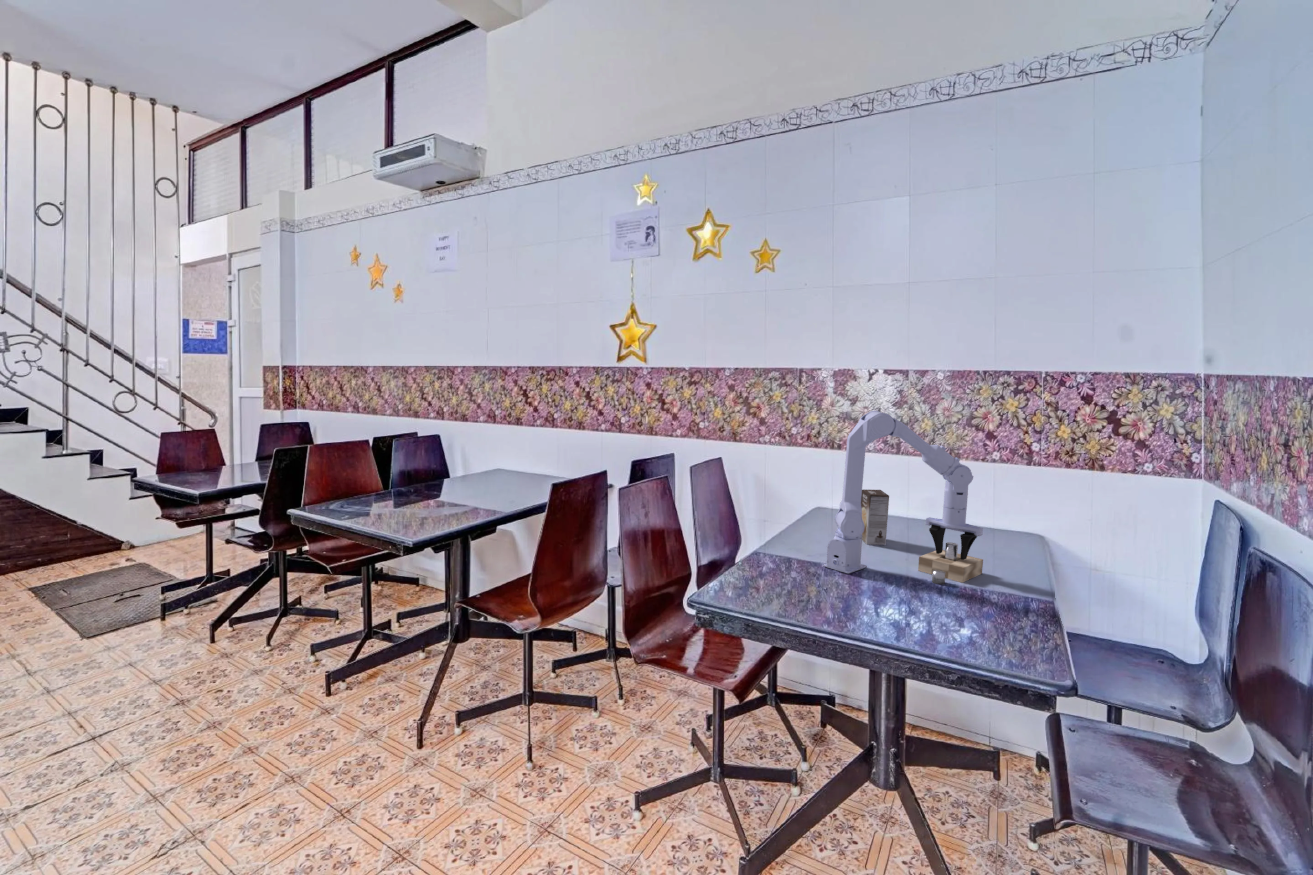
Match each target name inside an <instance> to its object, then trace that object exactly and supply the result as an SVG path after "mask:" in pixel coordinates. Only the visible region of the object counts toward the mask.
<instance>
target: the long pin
mask: <svg viewBox="0 0 1313 875" xmlns="http://www.w3.org/2000/svg"><path fill="white" fill-rule="evenodd" d="M958 549H959V544H958V543H956V542H950V541H949V542H946V543H945V548H944V550H945V559H947V560H951V561H955V562H956V561H957V553H958V552H959V551H958Z"/></svg>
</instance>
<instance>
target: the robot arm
mask: <svg viewBox="0 0 1313 875" xmlns="http://www.w3.org/2000/svg"><path fill="white" fill-rule="evenodd" d="M887 436H890V437H896V438H899V439H901V440H902V441H904V442H905V443H906V444H907V445H909V446H910V447H912V448H913V449H914V450H916V451H917V452H918V453H920V454H921V458H922V462H924V463H925V465H928V466H929V467H930V468H932V470H934V471H935V472H937V473H938V474H939V475H941V476H942V478H943V480H945V483H944V485H945V486H944V495H943V506H942V507H943V508H942V518H938V517H937V518H935V517H931V516H930V517H926V518H925V526H930V528H929V527H928V531H929V533H930V535H931V537H932V539H933V542H934V547H935V551H936V553H937V554H939V553H942V550H944V538H945V533H946V529H947V530H951V531H957V532H961V533H962V534H961V533H960V535H959V536H960V544H961V546H960V547H961V549H960V554H961V559H962V560H964V559H966V558H967V556H969V551H970V550H971V547H972V545H973V544H974V543H975V540H976V539H977V538H978V537H980V536H983V532H984V528H983V527H980V526H975V525H972V524H969V523H966V521H967V507H968V498H969V496H968V495H969V485H970V484H971V483H972V481H973V480H974V475H973V472H972V470H971V469H970V467H969V466H967V465H965V464H962V463H961V462H960V461H961V459H960V458H958V457H957V456H955V457H954V456H953V455H951V454H950V453H949V452H948V451H946V450H947V448H946V447H945V446H944V445H938V444H929V443H928V442H927V441H925V440H924V439H923V438H922V437H921V436H919V435H918V434H917V433H916V432H915V431H914V430H912V429H911V428H910V427H909V426H908V425H906V424H905V423H904V422H902V421H900V420H898V419H897V418H895V417H893V416H892V415H890V414H889V413H886V412H882V411H879V410H871V411H869V412H866V413H865V414H864V415H862V416H861V417H860V418H859V420H858V422H857V423H856V424H855V426H854V427H853V428H852V430H851V431H850V432H849V434H848V435H847V439H846V451H845V461H844V475H843V483H842V484H843V486H842V498H841V500H840V503H839V506H838V507H839V509H838V511H837V512H836V514H835V518H834V523H835V525H836V526H837V528H836V530H835V533H834V537H833V538H832V539H831V540H830V541H829V542H828V544H827V546H826V547H827V549H826V551H827V552H826V553H827V554H826V563H824V564H823V567H824V568H825V567H826V568H828V569H832V570H835V571H837V572H841V573H845V574H852V573H854V572H857V571H860V570H863V569H865V568H867V567H868V565H867V564H864V563H862V549H863V548H862V546H863V545H862V544H863V540H862V533H863V531H864V527H865V526H864V522H863V520H862V508H861V496H862V490H863V481H864V473H865V461H866V460H865V459H866V458H865V457H866V449H867V446H868V445H870V444H872V443H873V442H874V441H876V440H878V439H881V438H884V437H887Z"/></svg>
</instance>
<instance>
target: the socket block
mask: <svg viewBox="0 0 1313 875" xmlns="http://www.w3.org/2000/svg"><path fill="white" fill-rule="evenodd" d="M983 565H984V559H982V558H979V557H975V556H971V555H967V558H966V559H964V560H962V559H961V553H958V552H957V561H956V562H955V561H951V560H947V559H945V549H943V550H942V553H939V554H937V553H936V550H934V551H930V552H927V553H925V554H923V555H920V556H918V568H917V571H918V572H920V573H921V572H922V573H924V572H925V574H929V575H932V574H933V570H942V571H944V572H945V579H947V580H950V579H951V581H954V582H958V583H961V584H962V583H966V582H967V581H969V579H970V580H971V579H974V578H976V577H978V576H980V575H982V574H983V567H984V566H983Z"/></svg>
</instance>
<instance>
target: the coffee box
mask: <svg viewBox="0 0 1313 875" xmlns="http://www.w3.org/2000/svg"><path fill="white" fill-rule="evenodd" d="M889 502H890V495H889V494H887V493H886V492H884V491H883V490H881V489H862V496H861V508H862V520H863V522H864V526H865V527H864V531H863V533H862V542H864V544H866V545H868V546H869V545H871V546H872V545H874V546H875V545H876V546H886V544H887V533H888V532H887V531H888V519H889V518H888V516H889V506H890V504H889Z"/></svg>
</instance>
